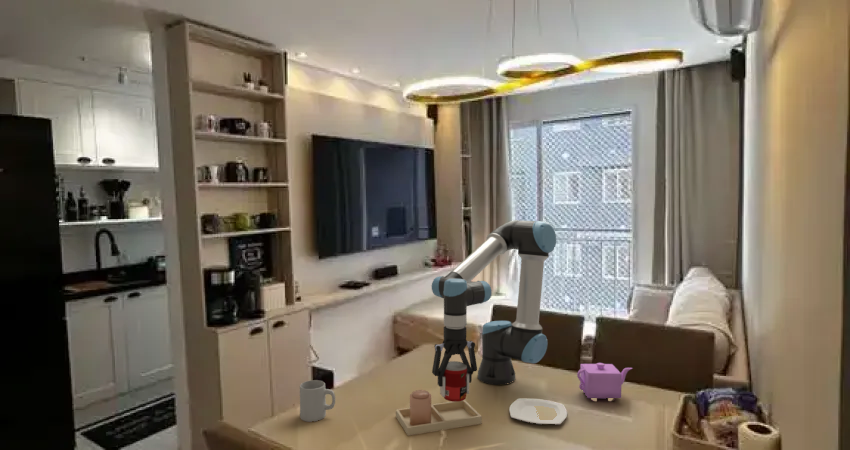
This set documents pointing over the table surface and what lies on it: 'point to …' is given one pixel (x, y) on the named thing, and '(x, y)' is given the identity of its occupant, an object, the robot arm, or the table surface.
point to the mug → (314, 400)
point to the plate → (527, 411)
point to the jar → (420, 407)
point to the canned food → (455, 381)
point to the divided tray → (441, 417)
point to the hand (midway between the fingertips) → (454, 393)
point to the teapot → (601, 380)
